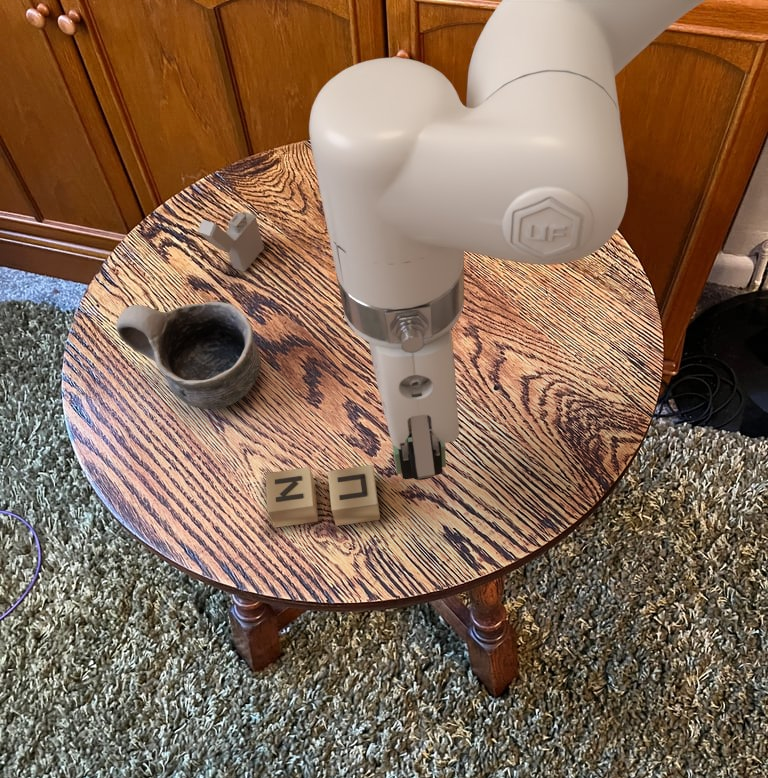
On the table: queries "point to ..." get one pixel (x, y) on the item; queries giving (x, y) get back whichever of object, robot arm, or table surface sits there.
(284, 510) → the left tile
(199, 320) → the mug
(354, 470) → the left tile
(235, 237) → the grey y-shaped block
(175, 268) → the table surface
